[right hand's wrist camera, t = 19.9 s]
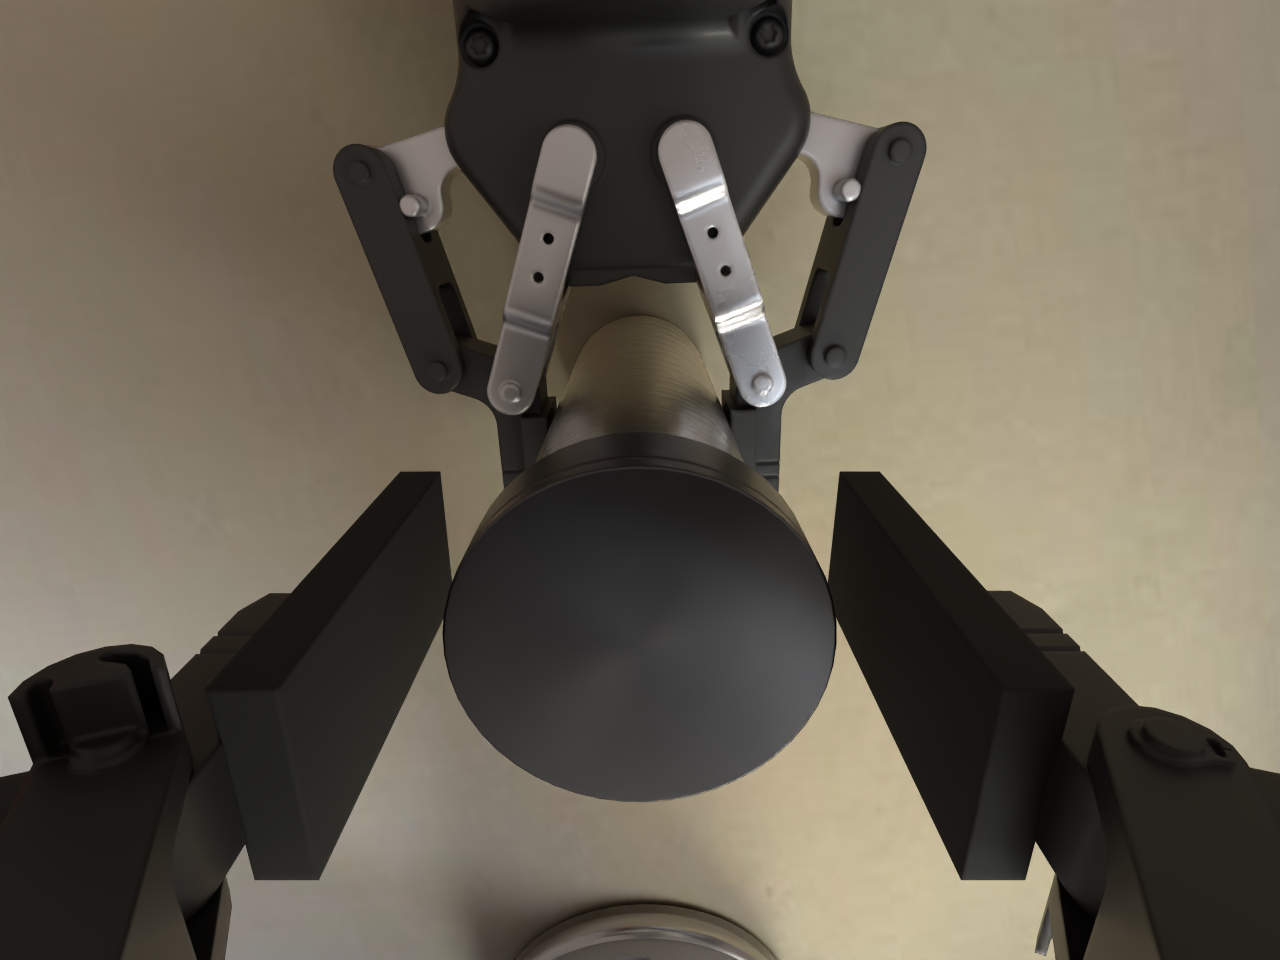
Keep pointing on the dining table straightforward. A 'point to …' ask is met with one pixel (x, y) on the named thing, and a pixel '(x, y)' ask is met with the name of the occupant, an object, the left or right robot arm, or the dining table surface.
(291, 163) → the dining table surface
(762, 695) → the lid
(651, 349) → the jar
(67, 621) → the dining table surface
